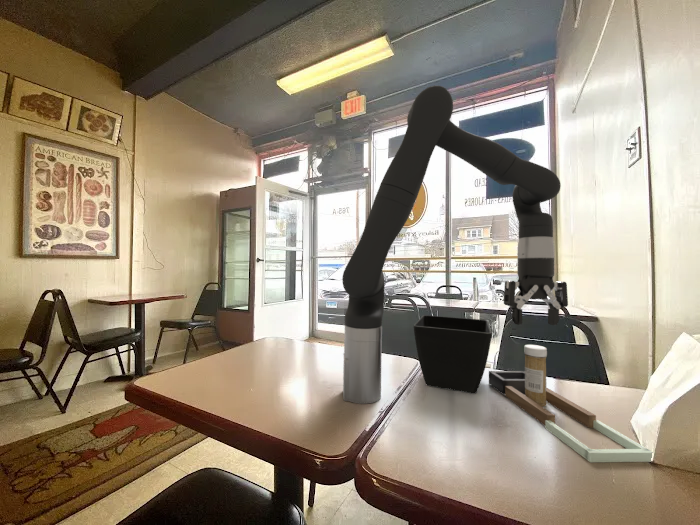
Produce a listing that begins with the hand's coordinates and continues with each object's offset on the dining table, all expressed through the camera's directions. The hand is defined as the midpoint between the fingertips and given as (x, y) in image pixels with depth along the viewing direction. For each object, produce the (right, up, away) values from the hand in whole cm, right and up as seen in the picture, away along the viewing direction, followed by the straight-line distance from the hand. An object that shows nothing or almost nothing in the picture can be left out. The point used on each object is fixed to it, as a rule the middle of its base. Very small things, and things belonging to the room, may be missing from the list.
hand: (535, 324), depth 71 cm
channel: (0, -19, -4) cm, 19 cm away
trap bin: (-1, -19, +8) cm, 20 cm away
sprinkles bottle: (0, -19, 0) cm, 19 cm away
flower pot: (-16, -19, +12) cm, 27 cm away
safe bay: (0, -18, -16) cm, 25 cm away
